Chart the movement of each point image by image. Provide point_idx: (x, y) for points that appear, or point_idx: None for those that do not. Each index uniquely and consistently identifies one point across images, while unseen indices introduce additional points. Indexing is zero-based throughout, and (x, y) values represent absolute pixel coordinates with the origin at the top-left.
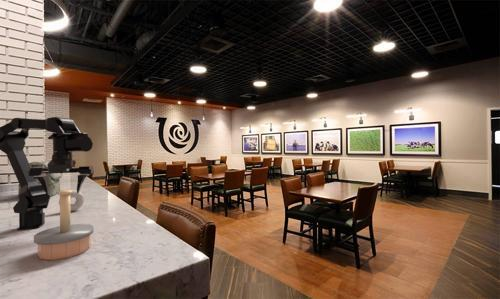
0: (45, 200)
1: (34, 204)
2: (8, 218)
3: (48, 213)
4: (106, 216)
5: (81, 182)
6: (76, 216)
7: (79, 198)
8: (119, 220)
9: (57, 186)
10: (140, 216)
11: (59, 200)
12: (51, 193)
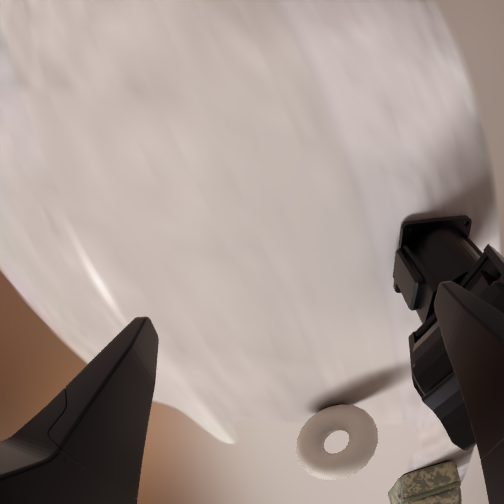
0: (431, 343)
1: (476, 283)
2: None
3: (399, 393)
4: (157, 331)
5: (43, 409)
6: (293, 357)
7: (310, 450)
8: (66, 257)
9: (394, 499)
10: (25, 291)
11: (376, 434)
12: (402, 481)
